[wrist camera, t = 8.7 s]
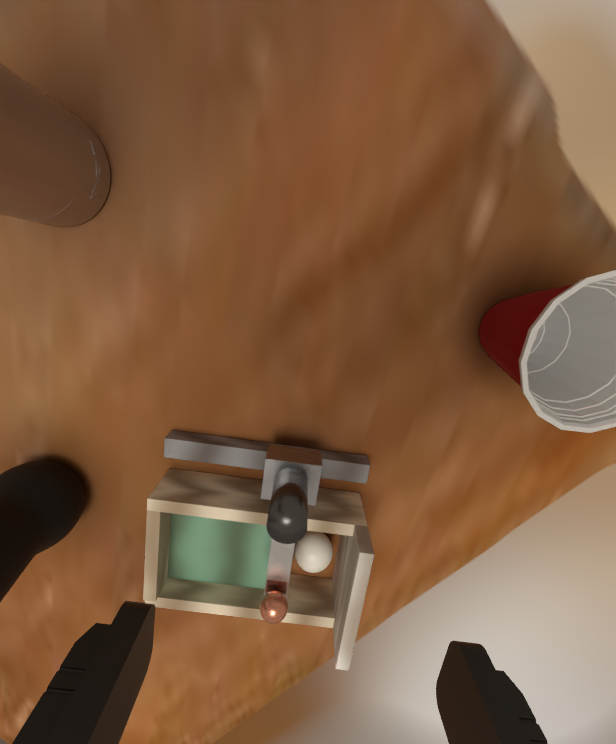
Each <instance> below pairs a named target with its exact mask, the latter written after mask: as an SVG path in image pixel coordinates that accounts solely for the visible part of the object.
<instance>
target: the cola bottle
mask: <svg viewBox="0 0 616 744" xmlns="http://www.w3.org/2000/svg"><path fill="white" fill-rule="evenodd" d="M84 505H85V490H84V486H83V484H82V482H81V480H80V479H79V477H78V476H77V475H76V474H75V473H74V472H73V471H72V470H71V469H69V468H68V467H66V466H64V465H62V464H60V463H57V462H53V461H33V462H28V463H25V464H22V465H19V466H16V467H14V468H11V469H9V470H7V471H6V472H4V473H2V474H1V475H0V602H1V601H2V599H3V598H4V596H5V595H6V594H7V592H8V591H9V590H10V588H11V587H12V586H13V584H14V583H15V582H16V580H17V579H18V577H19V576H20V575H21V573H22V572H23V571H24V569H25V568H26V567H27V565H28V564H29V562H30V561H31V560H32V558H33V557H34V556H35V555H36V554H38V553H40V552H42V551H44V550H46V549H48V548H49V547H51V546H53V545H55V544H56V543H58V542H59V541H60V540H62V539H63V538H64V537H65V536H66V535H67V534H68V533H69V532H70V531H71V530H72V528H73V527H74V526H75V524H76V523H77V521H78V519H79V518H80V516H81V514H82V511H83V509H84Z"/></svg>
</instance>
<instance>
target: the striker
mask: <svg viewBox="0 0 616 744" xmlns="http://www.w3.org/2000/svg"><path fill="white" fill-rule="evenodd" d="M321 470H322V457H321V451H319V450H312V449H304V448H297V447H289V446H282V445H274V444H269V447H268V451H267V455H266V459H265V467H264V475H263V483H262V491H261V499H266V500H271V501H270V507H269V513H268V518H267V524H266V527H267V532H268V534H269V535H270V537H271V538H272V540H271V547H270V554H269V561H268V569H267V576H266V583H265V590H264V596H263V598H262V600H261V603H260V613H261V616H262V618H263V619H264V620H265V621H266V622H268V623H270V624H276V623H279V622H281V621H282V620H283V619H284V618H285V616H286V614H287V611H288V601H287V598H286V597H287V591H288V584H289V578H290V571H291V565H292V559H293V552H294V546H295V543H296V542H298V541H300V540H301V539H302V538H303V537H304V536H305V534H306V532H307V521H308V505H313V506H316V500H317V494H318V488H319V482H320V476H321Z"/></svg>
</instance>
